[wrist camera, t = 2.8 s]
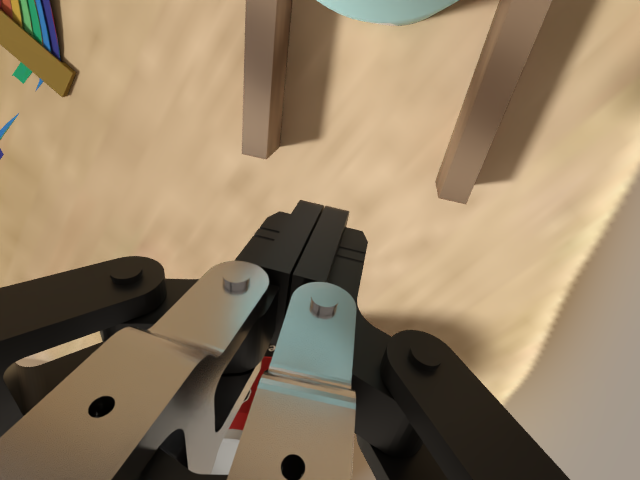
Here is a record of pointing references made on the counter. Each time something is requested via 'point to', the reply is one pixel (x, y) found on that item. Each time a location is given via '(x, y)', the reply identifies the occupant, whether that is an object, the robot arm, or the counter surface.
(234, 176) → the counter surface
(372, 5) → the can
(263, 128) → the channel
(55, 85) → the ribbon cable
